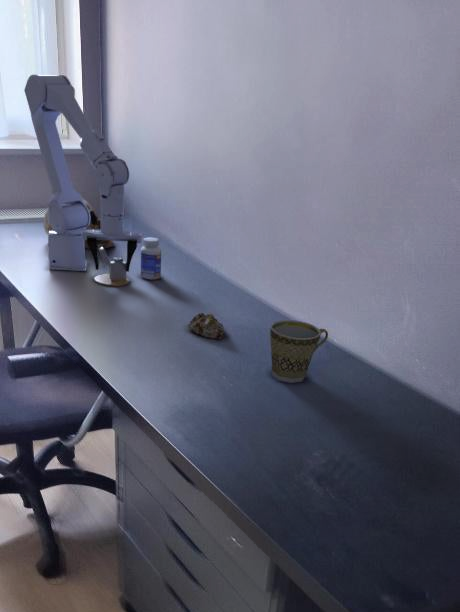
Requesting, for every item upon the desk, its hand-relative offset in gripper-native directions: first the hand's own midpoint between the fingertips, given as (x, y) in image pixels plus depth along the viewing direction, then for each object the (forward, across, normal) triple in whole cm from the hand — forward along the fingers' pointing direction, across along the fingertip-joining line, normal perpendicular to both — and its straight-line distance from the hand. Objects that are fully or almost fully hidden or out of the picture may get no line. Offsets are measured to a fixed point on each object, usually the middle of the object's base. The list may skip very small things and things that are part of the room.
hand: (112, 269), depth 183 cm
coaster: (+3, 0, 0) cm, 3 cm away
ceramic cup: (+3, +38, -55) cm, 67 cm away
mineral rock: (+3, +22, -33) cm, 40 cm away
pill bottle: (+3, +10, +5) cm, 12 cm away
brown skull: (+3, -10, +33) cm, 35 cm away
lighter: (+3, 0, 0) cm, 3 cm away
